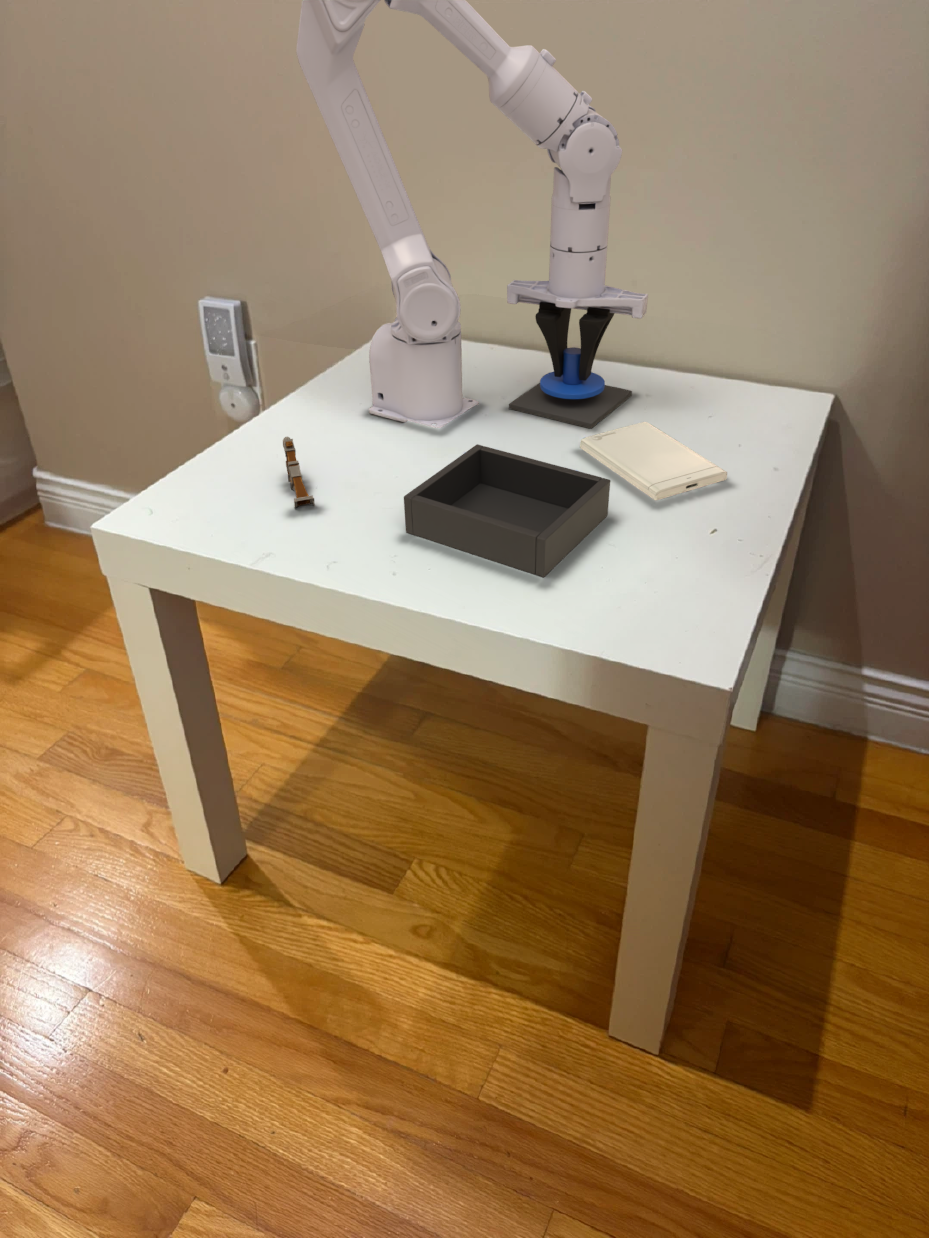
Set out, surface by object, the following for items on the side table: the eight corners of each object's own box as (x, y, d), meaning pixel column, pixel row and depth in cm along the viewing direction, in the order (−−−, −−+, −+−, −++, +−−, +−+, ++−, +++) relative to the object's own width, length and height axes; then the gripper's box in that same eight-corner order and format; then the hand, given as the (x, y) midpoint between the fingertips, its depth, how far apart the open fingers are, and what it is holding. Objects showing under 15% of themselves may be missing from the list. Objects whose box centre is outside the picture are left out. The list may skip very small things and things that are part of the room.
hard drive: (580, 438, 95) (656, 490, 86) (647, 420, 98) (728, 468, 89) (579, 453, 96) (654, 506, 87) (646, 435, 99) (726, 484, 90)
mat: (508, 409, 105) (508, 403, 104) (552, 378, 111) (552, 373, 111) (591, 429, 100) (591, 423, 100) (631, 395, 107) (632, 390, 106)
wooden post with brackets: (297, 461, 93) (295, 430, 89) (315, 527, 89) (314, 496, 86) (278, 464, 93) (276, 432, 89) (296, 530, 89) (294, 500, 85)
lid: (530, 394, 103) (531, 358, 101) (552, 371, 108) (553, 336, 106) (593, 403, 101) (596, 366, 99) (612, 379, 106) (614, 343, 104)
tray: (405, 538, 83) (403, 496, 81) (477, 483, 91) (476, 443, 88) (543, 583, 77) (545, 540, 75) (607, 521, 85) (610, 479, 82)
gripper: (496, 249, 95) (496, 379, 103) (639, 263, 90) (627, 398, 98) (521, 231, 100) (519, 357, 108) (657, 243, 96) (645, 374, 104)
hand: (572, 375), depth 104 cm, fingers closed on lid, 2 cm apart
